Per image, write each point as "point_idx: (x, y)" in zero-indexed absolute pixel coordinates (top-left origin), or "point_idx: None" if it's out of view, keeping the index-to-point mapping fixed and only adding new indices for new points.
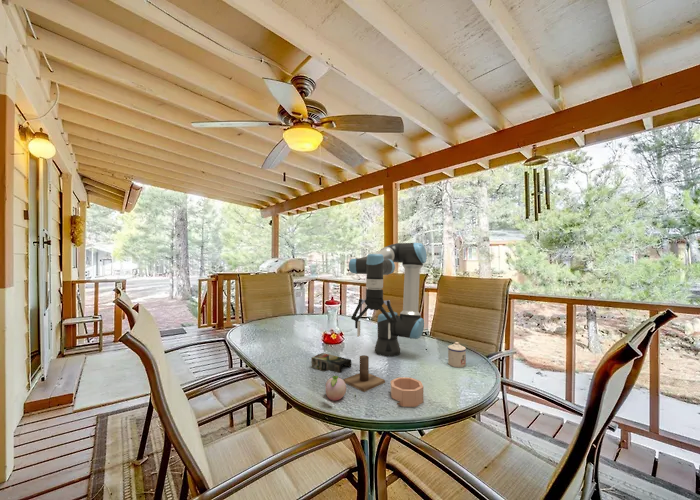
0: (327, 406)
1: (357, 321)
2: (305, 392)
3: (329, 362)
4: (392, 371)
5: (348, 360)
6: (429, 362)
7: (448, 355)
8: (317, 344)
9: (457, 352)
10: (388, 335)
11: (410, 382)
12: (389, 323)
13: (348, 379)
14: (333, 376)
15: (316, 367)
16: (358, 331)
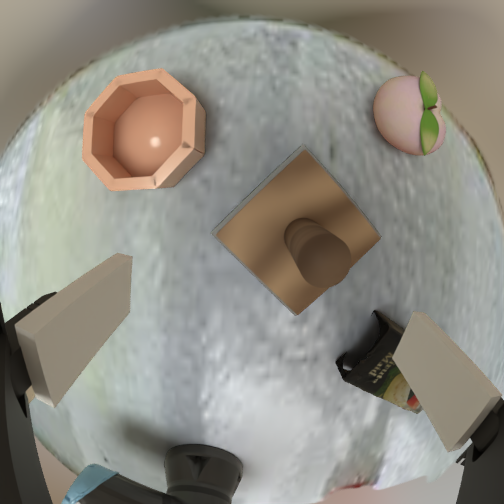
0: None
1: (494, 407)
2: (464, 187)
3: None
4: (185, 352)
5: (355, 371)
6: (84, 396)
7: (31, 389)
8: (389, 476)
9: None
10: (114, 266)
11: (118, 176)
12: (25, 346)
13: (362, 236)
14: (437, 128)
15: None
16: (439, 334)
